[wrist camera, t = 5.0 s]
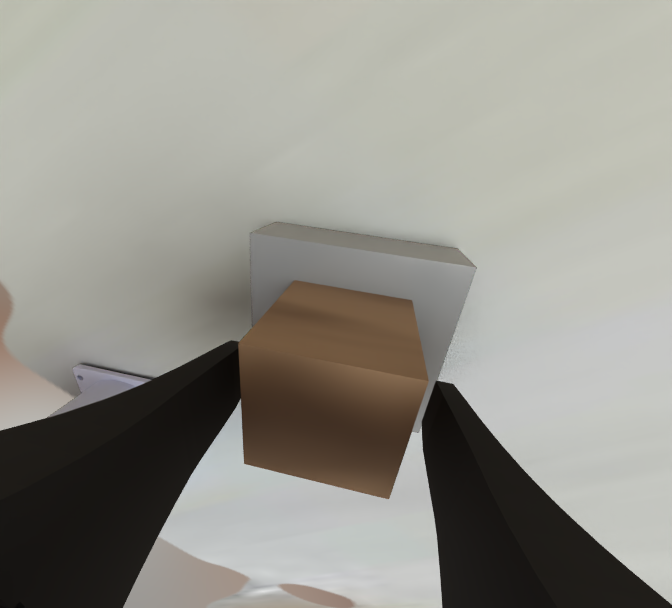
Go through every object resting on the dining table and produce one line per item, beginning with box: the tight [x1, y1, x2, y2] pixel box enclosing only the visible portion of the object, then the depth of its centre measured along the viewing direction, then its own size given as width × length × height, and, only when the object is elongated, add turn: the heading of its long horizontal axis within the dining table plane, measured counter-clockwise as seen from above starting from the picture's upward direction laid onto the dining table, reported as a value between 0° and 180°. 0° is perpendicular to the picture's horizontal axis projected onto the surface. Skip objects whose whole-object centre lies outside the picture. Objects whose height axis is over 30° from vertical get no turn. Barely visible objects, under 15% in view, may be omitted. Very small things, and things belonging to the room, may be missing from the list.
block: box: [238, 280, 429, 499], centre depth 10 cm, size 5×5×5 cm
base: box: [250, 222, 477, 433], centre depth 14 cm, size 9×9×3 cm
